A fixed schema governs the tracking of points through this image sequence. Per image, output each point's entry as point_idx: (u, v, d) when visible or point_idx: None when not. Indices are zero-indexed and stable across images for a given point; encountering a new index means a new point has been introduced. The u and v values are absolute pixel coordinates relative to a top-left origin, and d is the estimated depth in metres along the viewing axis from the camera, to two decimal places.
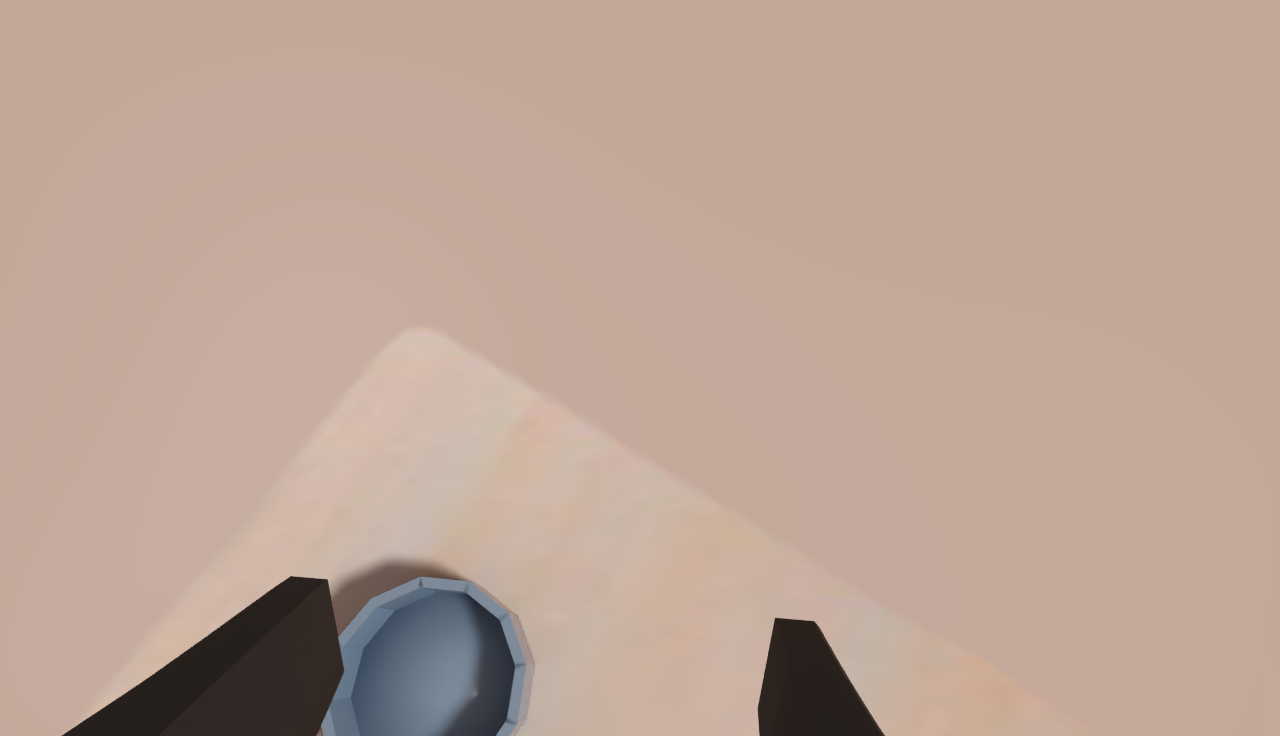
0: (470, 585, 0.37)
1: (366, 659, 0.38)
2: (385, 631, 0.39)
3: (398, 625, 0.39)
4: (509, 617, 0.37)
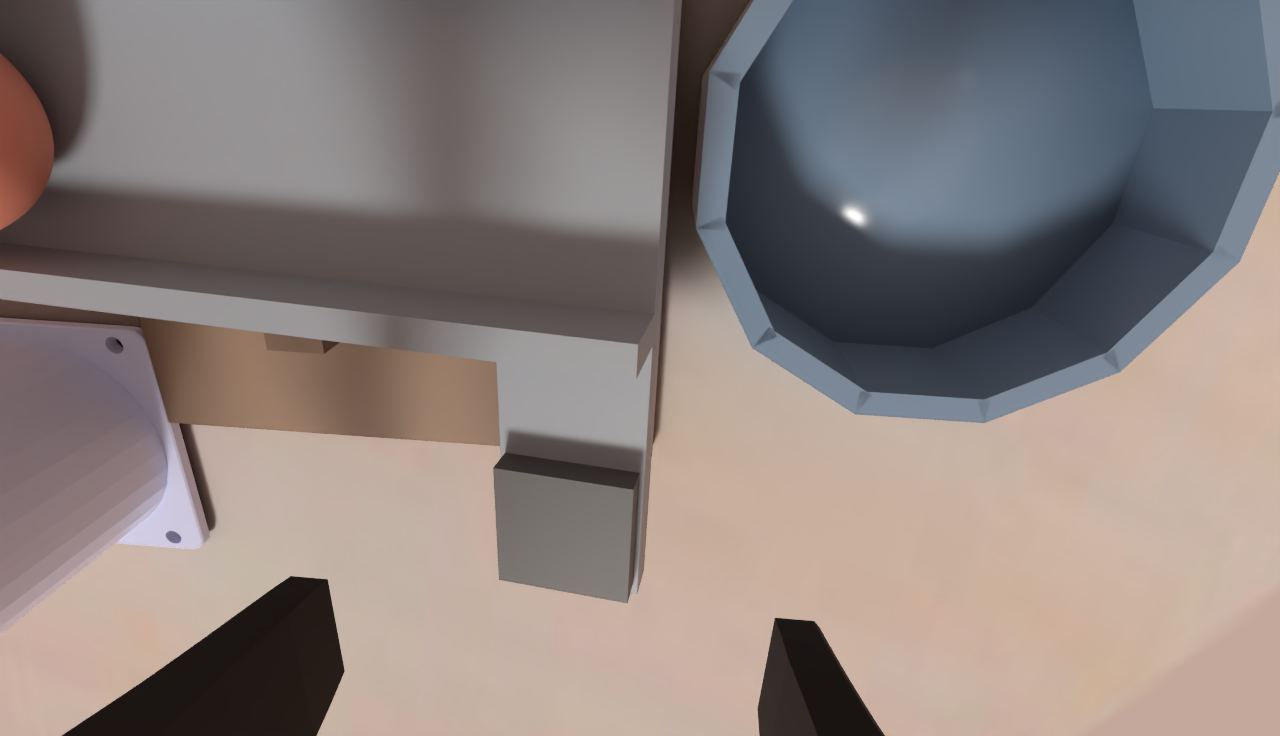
0: (1227, 264, 0.13)
1: None
2: None
3: (1086, 11, 0.14)
4: (1106, 374, 0.14)
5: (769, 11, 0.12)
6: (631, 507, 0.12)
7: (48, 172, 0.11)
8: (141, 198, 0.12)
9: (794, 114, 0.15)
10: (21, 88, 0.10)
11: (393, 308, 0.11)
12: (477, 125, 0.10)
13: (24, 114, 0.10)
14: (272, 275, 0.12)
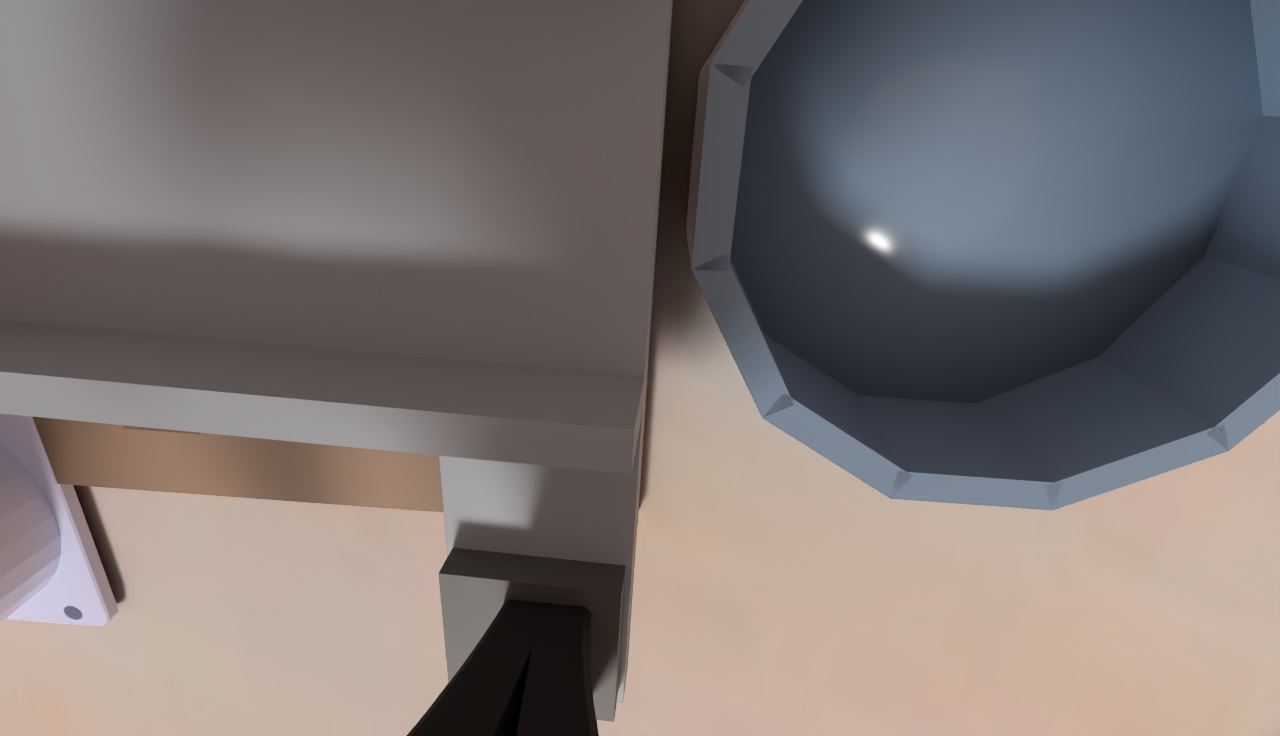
0: None
1: None
2: None
3: None
4: (1211, 453, 0.11)
5: None
6: (619, 613, 0.09)
7: None
8: None
9: (814, 120, 0.12)
10: None
11: (291, 385, 0.08)
12: (400, 135, 0.08)
13: None
14: (121, 336, 0.09)
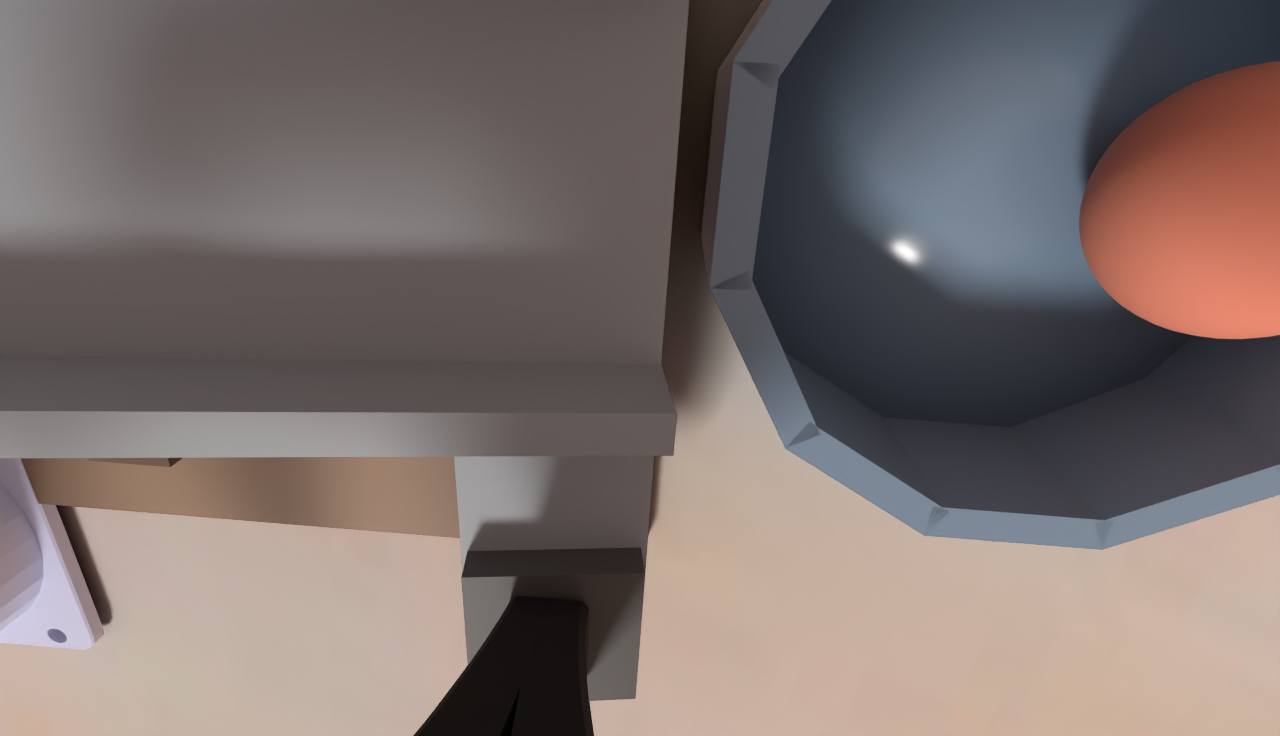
0: None
1: None
2: None
3: None
4: None
5: None
6: (642, 593, 0.10)
7: None
8: None
9: (841, 123, 0.11)
10: None
11: (317, 399, 0.07)
12: (418, 137, 0.07)
13: None
14: (90, 362, 0.08)
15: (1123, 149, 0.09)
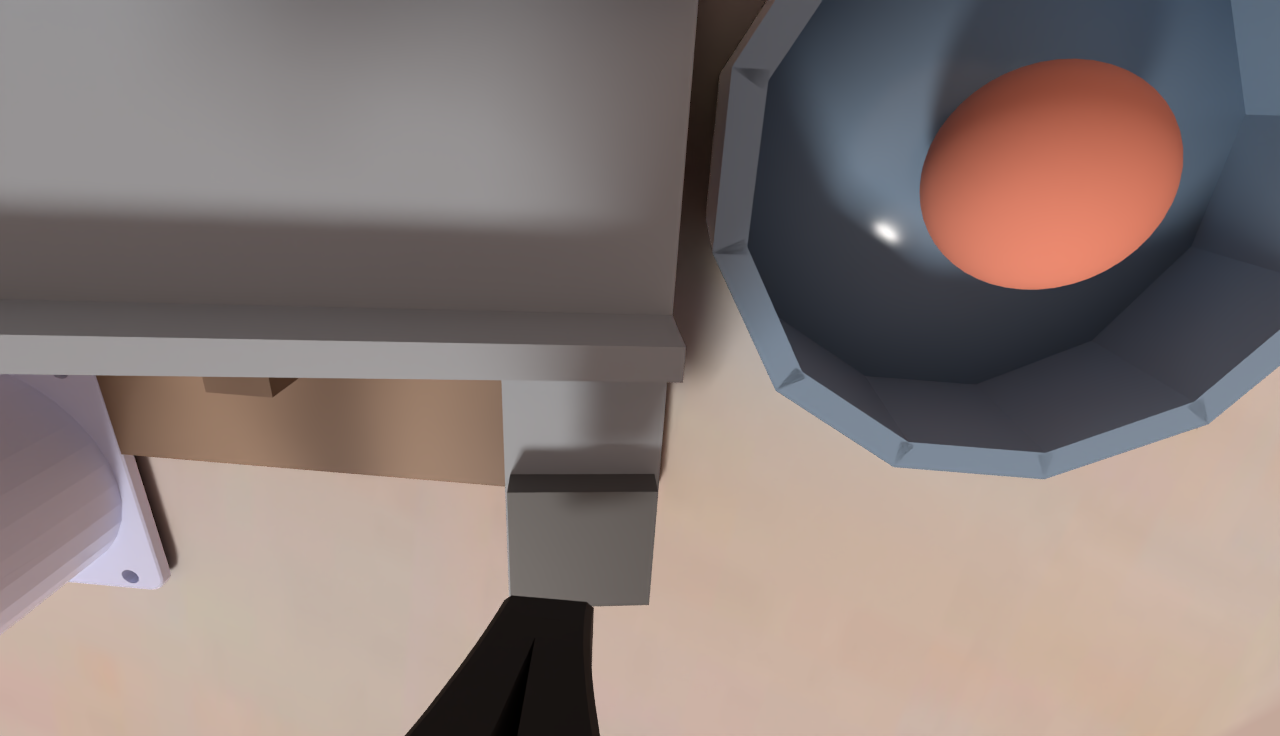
0: None
1: None
2: None
3: (1173, 1, 0.12)
4: (1191, 426, 0.12)
5: None
6: (656, 509, 0.12)
7: (1105, 245, 0.10)
8: (13, 224, 0.09)
9: (825, 118, 0.13)
10: (1127, 155, 0.09)
11: (402, 334, 0.09)
12: (482, 127, 0.09)
13: (1100, 181, 0.10)
14: (218, 307, 0.10)
15: None
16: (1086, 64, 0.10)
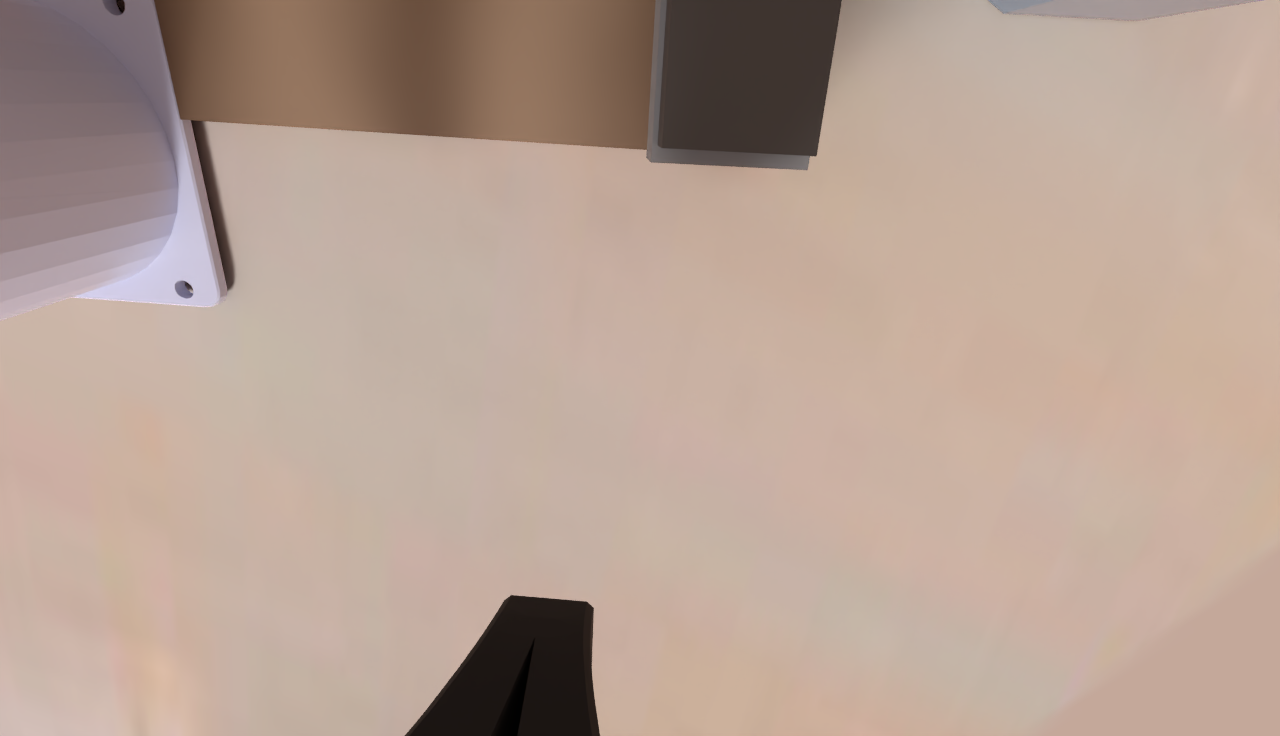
0: None
1: None
2: None
3: None
4: None
5: None
6: None
7: None
8: None
9: None
10: None
11: None
12: None
13: None
14: None
15: None
16: None
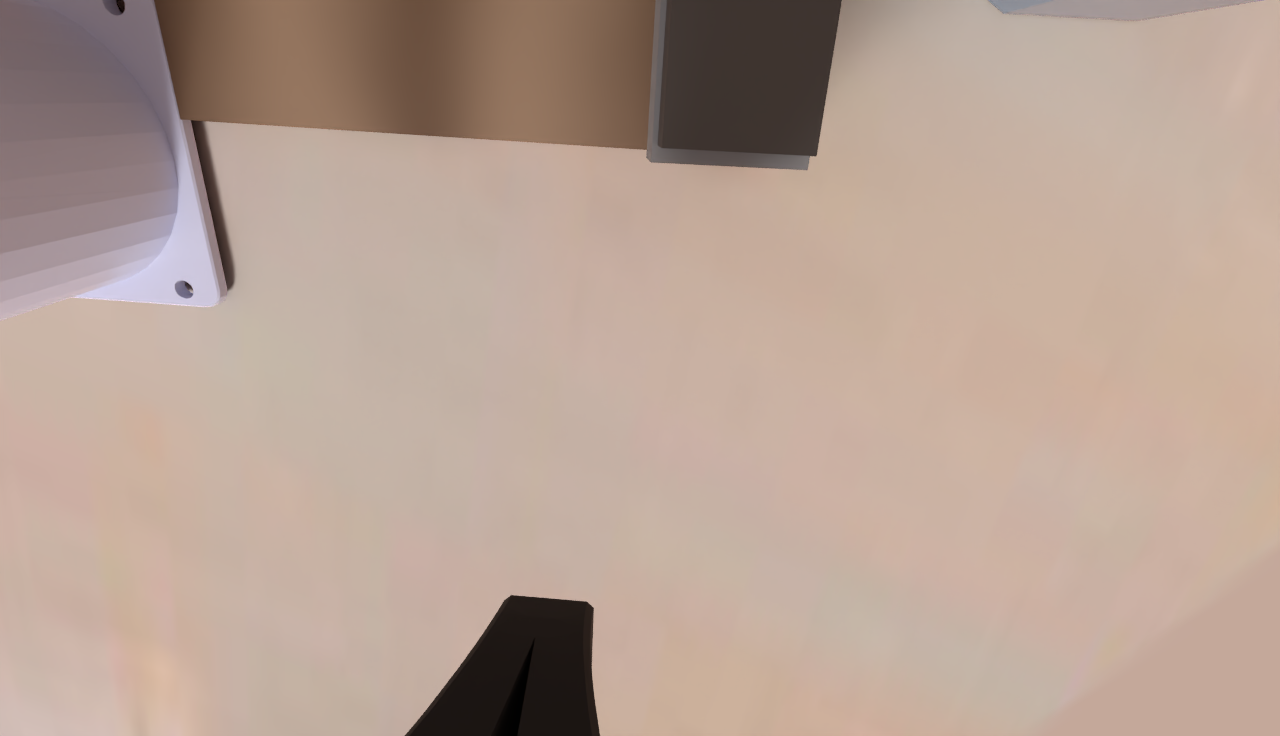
0: None
1: None
2: None
3: None
4: None
5: None
6: None
7: None
8: None
9: None
10: None
11: None
12: None
13: None
14: None
15: None
16: None
